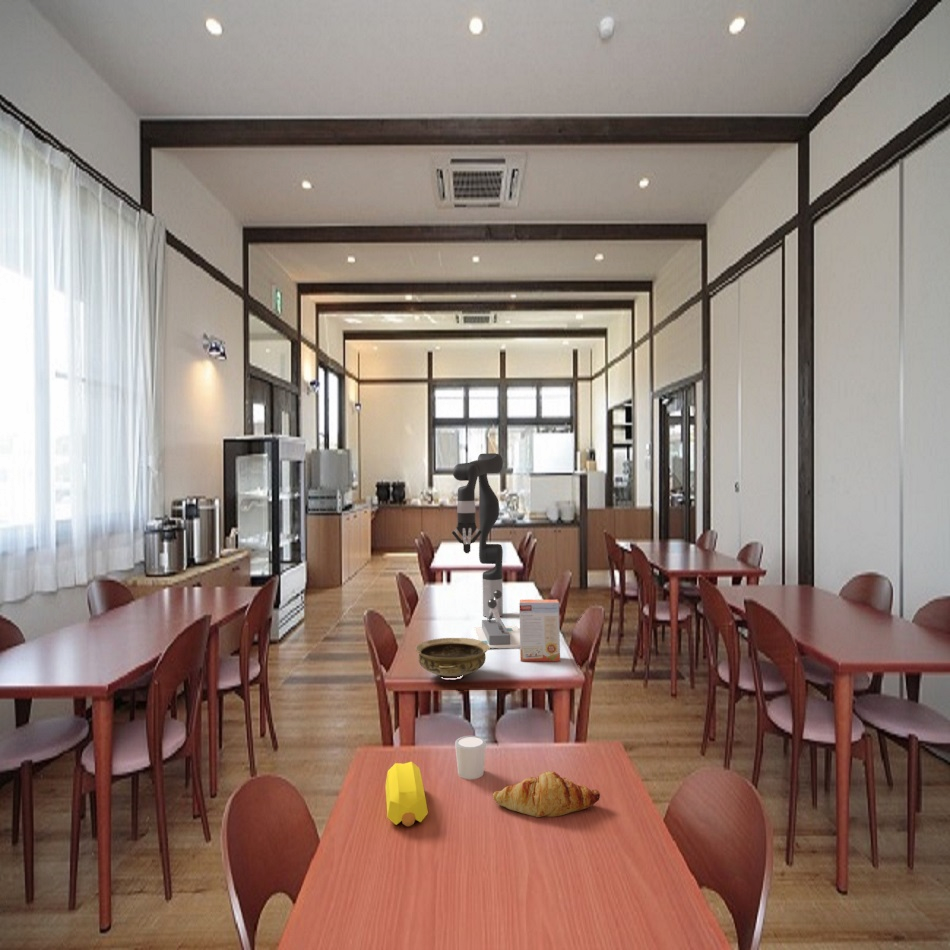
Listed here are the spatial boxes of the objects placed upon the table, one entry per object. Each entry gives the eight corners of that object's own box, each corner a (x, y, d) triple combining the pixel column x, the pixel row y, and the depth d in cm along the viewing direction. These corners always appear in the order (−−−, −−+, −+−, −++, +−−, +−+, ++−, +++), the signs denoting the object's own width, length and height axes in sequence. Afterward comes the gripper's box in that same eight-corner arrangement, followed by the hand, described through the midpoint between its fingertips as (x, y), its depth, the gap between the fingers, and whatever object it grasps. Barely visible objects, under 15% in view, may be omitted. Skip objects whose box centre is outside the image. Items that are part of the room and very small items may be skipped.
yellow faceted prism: (421, 783, 135) (384, 786, 134) (420, 752, 135) (384, 755, 134) (429, 829, 117) (388, 834, 116) (429, 794, 117) (387, 798, 116)
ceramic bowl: (483, 694, 188) (483, 661, 188) (405, 691, 191) (405, 659, 191) (493, 663, 218) (493, 635, 218) (425, 662, 221) (425, 633, 221)
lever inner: (483, 618, 261) (494, 588, 262) (492, 621, 262) (502, 590, 262) (484, 620, 258) (495, 589, 258) (493, 623, 258) (503, 592, 259)
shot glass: (462, 783, 134) (462, 750, 134) (450, 769, 140) (450, 738, 140) (491, 776, 137) (491, 744, 137) (478, 763, 143) (478, 733, 143)
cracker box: (559, 657, 225) (558, 598, 225) (560, 662, 219) (559, 602, 219) (520, 656, 226) (519, 598, 226) (520, 661, 220) (519, 602, 220)
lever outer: (497, 632, 244) (485, 600, 243) (506, 628, 244) (494, 596, 244) (499, 634, 240) (486, 602, 240) (507, 631, 241) (495, 598, 240)
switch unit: (474, 629, 265) (474, 619, 265) (516, 628, 267) (516, 617, 267) (482, 649, 235) (482, 637, 235) (529, 647, 237) (529, 635, 237)
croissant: (493, 831, 122) (492, 805, 119) (492, 784, 131) (491, 759, 127) (602, 829, 122) (604, 803, 118) (594, 782, 130) (596, 757, 127)
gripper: (481, 510, 266) (481, 551, 266) (450, 511, 265) (450, 552, 265) (483, 511, 259) (483, 553, 259) (451, 512, 258) (451, 554, 258)
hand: (466, 553), depth 262 cm, fingers closed
